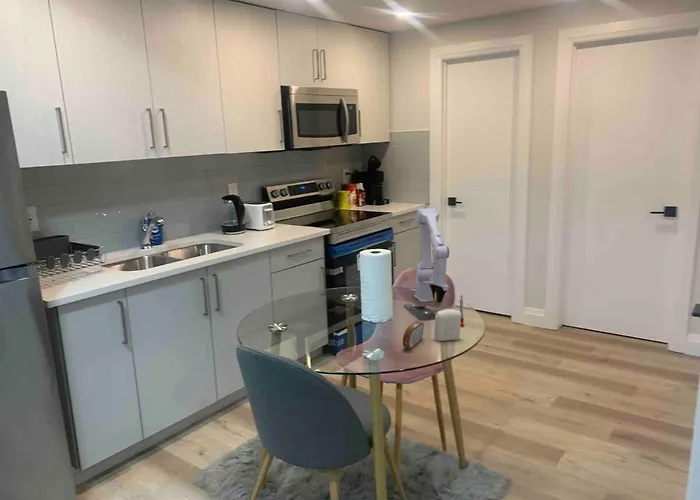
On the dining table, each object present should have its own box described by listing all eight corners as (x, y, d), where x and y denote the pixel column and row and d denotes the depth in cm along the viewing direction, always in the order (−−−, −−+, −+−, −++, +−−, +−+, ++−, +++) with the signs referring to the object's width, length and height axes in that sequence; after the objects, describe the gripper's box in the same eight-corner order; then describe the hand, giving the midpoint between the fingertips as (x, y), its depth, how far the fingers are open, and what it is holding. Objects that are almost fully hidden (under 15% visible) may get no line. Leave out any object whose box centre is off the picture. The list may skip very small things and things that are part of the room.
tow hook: (442, 328, 225) (464, 327, 224) (442, 299, 222) (465, 298, 221) (440, 320, 233) (461, 320, 232) (440, 292, 230) (462, 292, 229)
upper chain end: (409, 311, 242) (410, 305, 241) (423, 310, 244) (424, 304, 243) (420, 320, 231) (420, 314, 231) (435, 318, 234) (435, 312, 233)
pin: (432, 303, 242) (433, 291, 240) (438, 303, 242) (439, 290, 241) (435, 306, 239) (436, 293, 237) (441, 305, 240) (442, 292, 238)
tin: (417, 337, 214) (418, 317, 212) (424, 338, 213) (425, 318, 211) (401, 350, 202) (402, 329, 199) (409, 352, 200) (410, 331, 198)
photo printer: (456, 335, 216) (458, 307, 213) (461, 340, 212) (463, 310, 209) (432, 337, 213) (434, 308, 210) (436, 342, 209) (438, 312, 206)
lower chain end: (403, 306, 248) (403, 303, 248) (417, 305, 250) (417, 301, 250) (415, 316, 236) (416, 312, 235) (430, 315, 238) (430, 311, 238)
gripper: (423, 268, 242) (422, 296, 246) (438, 277, 229) (437, 307, 232) (438, 267, 244) (436, 295, 248) (453, 276, 231) (451, 305, 234)
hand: (437, 301), depth 240 cm, fingers closed on pin, 3 cm apart
